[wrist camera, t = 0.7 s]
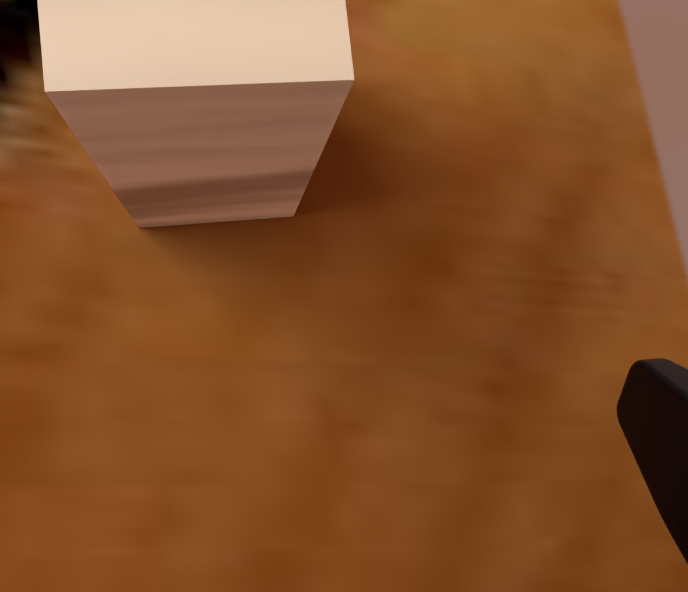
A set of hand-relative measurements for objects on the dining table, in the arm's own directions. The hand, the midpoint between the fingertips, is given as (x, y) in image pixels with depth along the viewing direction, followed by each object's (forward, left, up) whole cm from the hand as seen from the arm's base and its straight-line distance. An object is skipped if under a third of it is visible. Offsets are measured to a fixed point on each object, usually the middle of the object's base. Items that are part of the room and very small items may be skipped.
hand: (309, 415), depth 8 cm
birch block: (+4, +7, -13) cm, 15 cm away
